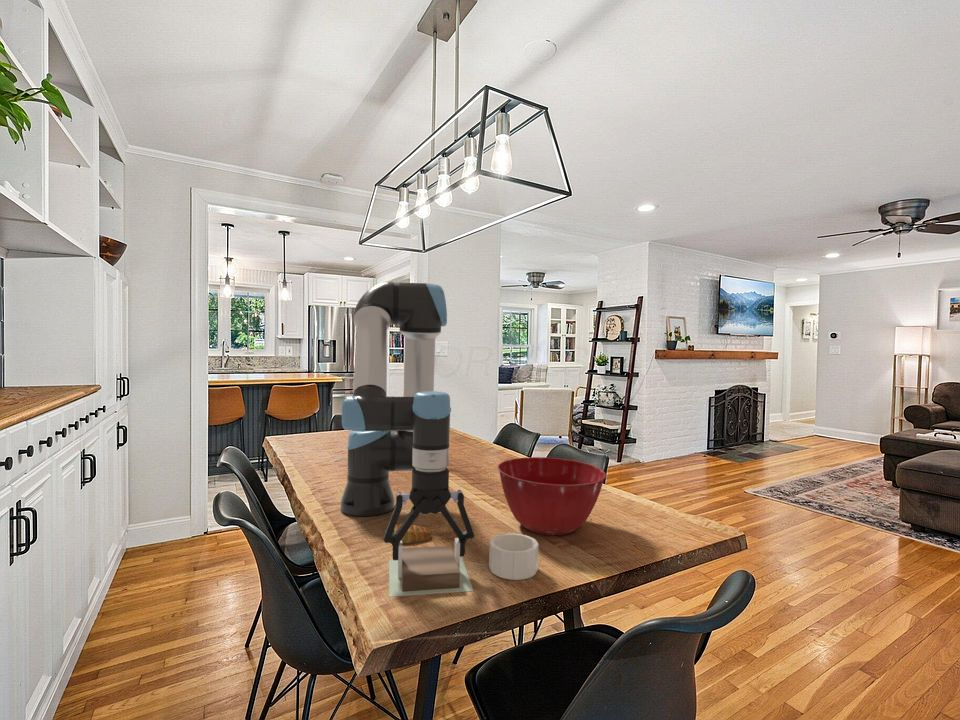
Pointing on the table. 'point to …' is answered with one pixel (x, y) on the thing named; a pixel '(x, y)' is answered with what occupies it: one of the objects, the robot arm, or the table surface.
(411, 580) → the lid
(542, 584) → the table surface
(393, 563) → the mat
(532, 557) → the bowl
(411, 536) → the pastry
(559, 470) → the mixing bowl
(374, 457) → the robot arm
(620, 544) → the table surface
